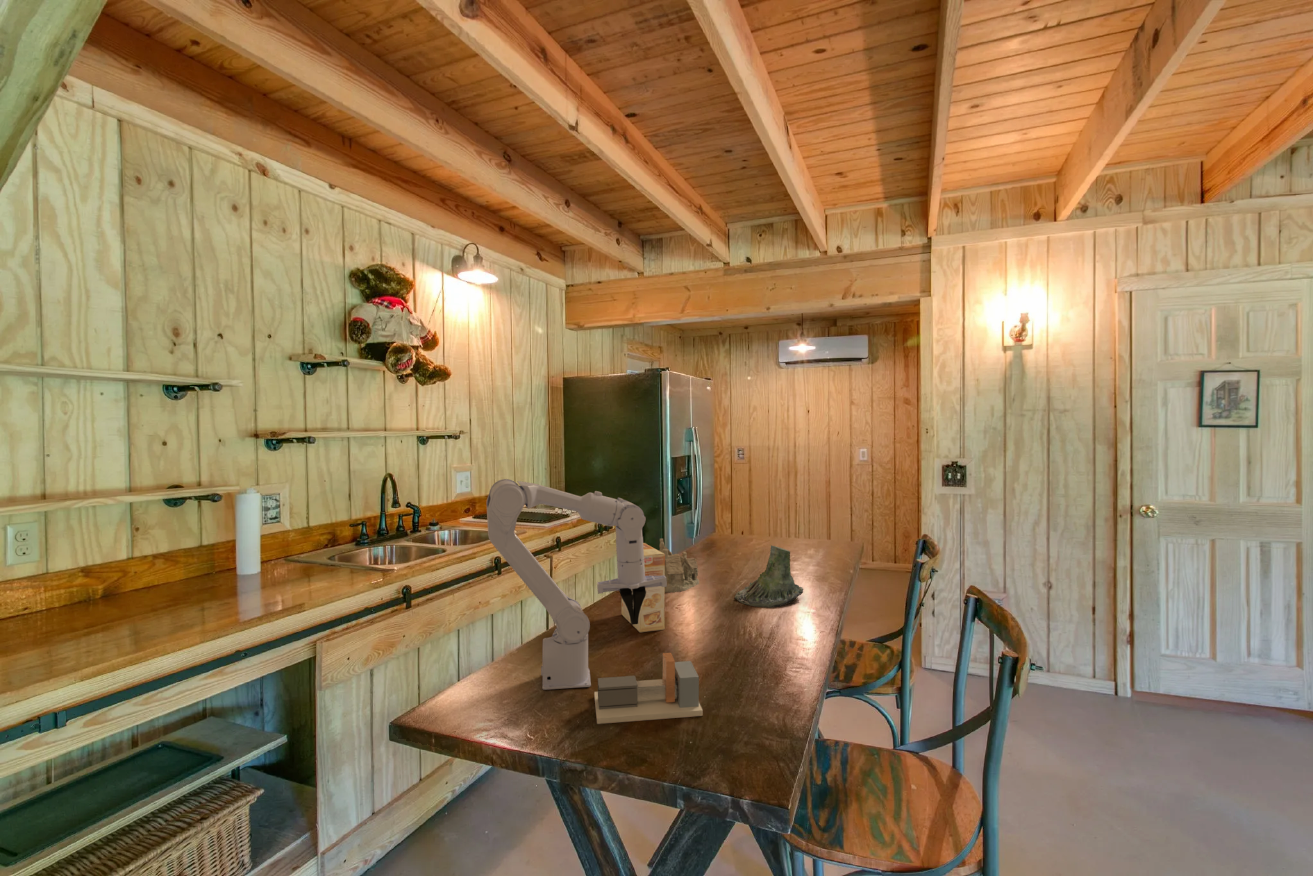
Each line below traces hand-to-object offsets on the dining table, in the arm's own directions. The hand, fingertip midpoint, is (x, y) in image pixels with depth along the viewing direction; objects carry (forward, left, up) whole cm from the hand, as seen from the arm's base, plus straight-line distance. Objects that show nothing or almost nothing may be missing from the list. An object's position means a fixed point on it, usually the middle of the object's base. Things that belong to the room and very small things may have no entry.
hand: (634, 622), depth 123 cm
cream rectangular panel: (+1, -15, -10) cm, 18 cm away
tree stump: (+46, +45, -11) cm, 65 cm away
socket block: (+8, -15, -9) cm, 20 cm away
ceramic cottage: (+21, +62, -11) cm, 67 cm away
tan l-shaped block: (+3, -15, -9) cm, 18 cm away
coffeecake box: (+6, +30, -11) cm, 32 cm away
